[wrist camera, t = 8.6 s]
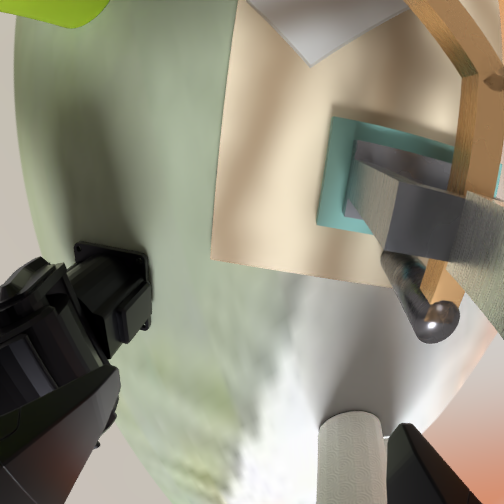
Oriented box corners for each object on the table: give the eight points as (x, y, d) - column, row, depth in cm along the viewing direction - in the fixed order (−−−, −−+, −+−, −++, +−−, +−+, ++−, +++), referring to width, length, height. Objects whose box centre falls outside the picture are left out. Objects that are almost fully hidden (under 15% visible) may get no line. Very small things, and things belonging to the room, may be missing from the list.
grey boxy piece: (354, 139, 15) (482, 160, 4) (484, 175, 14) (648, 249, 3) (341, 212, 17) (411, 371, 5) (469, 238, 16) (602, 363, 4)
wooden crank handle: (382, 278, 19) (414, 349, 12) (273, -61, 12) (258, -129, 5) (465, 256, 17) (522, 311, 11) (364, -73, 10) (382, -136, 4)
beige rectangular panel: (214, 253, 21) (205, 265, 19) (255, -77, 12) (250, -92, 10) (451, 291, 19) (462, 304, 18) (488, -19, 10) (501, -27, 9)
